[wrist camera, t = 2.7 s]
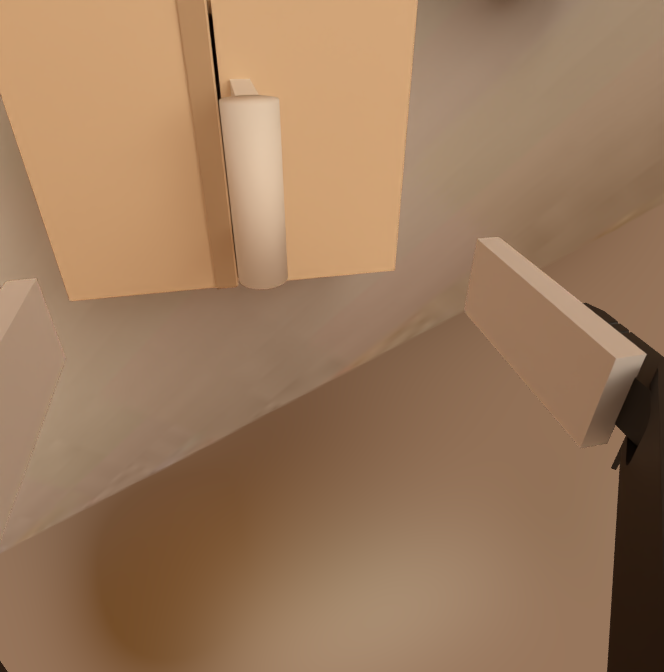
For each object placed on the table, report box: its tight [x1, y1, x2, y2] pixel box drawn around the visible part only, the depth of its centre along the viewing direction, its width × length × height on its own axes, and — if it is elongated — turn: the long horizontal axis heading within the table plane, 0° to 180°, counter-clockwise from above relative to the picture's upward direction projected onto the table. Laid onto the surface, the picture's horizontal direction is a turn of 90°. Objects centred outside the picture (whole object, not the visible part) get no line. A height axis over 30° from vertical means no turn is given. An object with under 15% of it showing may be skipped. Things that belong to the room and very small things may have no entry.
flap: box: [210, 0, 418, 289], centre depth 25 cm, size 15×10×8 cm
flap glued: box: [0, 0, 238, 301], centre depth 26 cm, size 15×10×1 cm, turn 0°
